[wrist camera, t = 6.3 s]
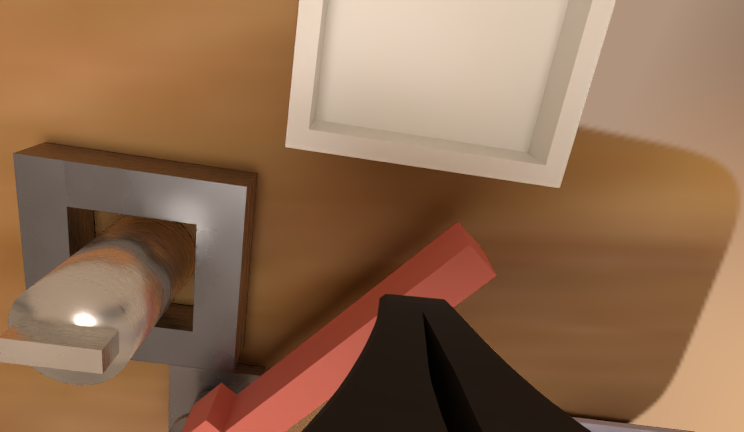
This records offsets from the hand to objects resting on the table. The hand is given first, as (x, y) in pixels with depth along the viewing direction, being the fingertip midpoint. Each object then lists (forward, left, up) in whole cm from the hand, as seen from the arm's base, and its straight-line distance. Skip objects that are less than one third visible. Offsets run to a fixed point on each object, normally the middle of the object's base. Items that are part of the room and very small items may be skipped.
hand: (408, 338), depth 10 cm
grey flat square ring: (+9, +4, -10) cm, 14 cm away
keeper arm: (+1, +5, -7) cm, 9 cm away
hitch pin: (+9, +4, -10) cm, 14 cm away
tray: (-1, -6, -10) cm, 12 cm away
